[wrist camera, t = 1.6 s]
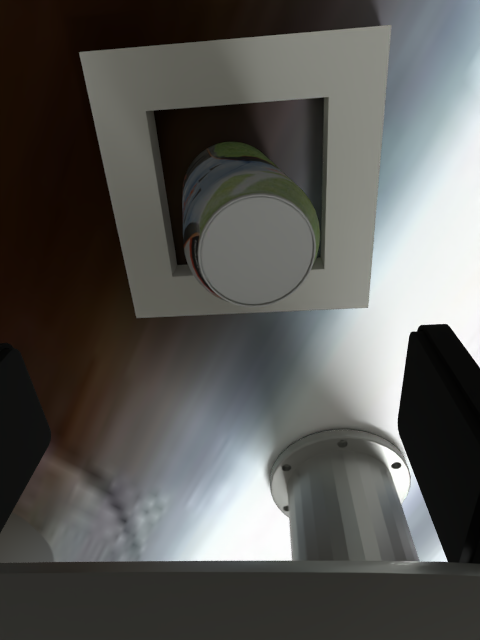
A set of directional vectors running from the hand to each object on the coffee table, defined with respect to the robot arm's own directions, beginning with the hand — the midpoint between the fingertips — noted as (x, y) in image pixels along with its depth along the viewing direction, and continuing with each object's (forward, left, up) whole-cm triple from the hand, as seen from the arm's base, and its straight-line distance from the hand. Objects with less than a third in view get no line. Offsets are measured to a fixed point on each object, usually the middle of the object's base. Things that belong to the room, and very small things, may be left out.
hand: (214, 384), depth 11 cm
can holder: (0, 0, -20) cm, 20 cm away
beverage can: (0, 0, -20) cm, 20 cm away
